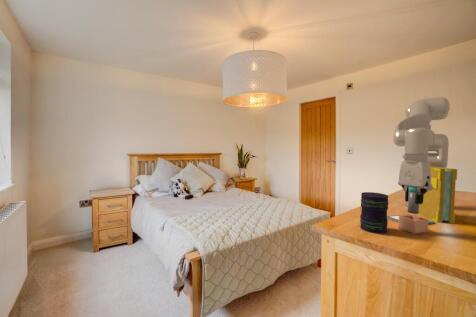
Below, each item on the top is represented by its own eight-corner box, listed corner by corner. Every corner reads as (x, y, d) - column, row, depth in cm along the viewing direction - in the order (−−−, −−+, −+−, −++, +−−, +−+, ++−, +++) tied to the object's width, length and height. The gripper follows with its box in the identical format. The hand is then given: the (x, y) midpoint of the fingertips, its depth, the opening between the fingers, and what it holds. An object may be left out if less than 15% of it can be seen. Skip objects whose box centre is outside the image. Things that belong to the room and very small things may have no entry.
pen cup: (410, 226, 96) (411, 214, 95) (427, 232, 89) (428, 219, 89) (398, 228, 94) (398, 215, 94) (414, 234, 87) (415, 220, 87)
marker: (412, 211, 93) (413, 183, 93) (421, 213, 90) (422, 184, 89) (405, 211, 92) (406, 183, 92) (414, 214, 89) (415, 184, 88)
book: (454, 223, 100) (457, 169, 99) (437, 222, 101) (440, 168, 100) (430, 212, 117) (432, 166, 115) (415, 211, 118) (417, 165, 117)
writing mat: (408, 215, 112) (408, 213, 112) (434, 223, 100) (435, 221, 100) (385, 217, 108) (385, 215, 108) (409, 226, 96) (409, 224, 96)
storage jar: (355, 228, 94) (356, 193, 93) (366, 223, 100) (367, 191, 99) (381, 236, 86) (382, 198, 85) (391, 230, 92) (392, 195, 91)
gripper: (390, 157, 97) (388, 198, 98) (431, 159, 81) (428, 208, 82) (403, 157, 99) (401, 197, 100) (446, 159, 83) (443, 207, 84)
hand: (413, 202), depth 91 cm, fingers closed on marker, 3 cm apart
